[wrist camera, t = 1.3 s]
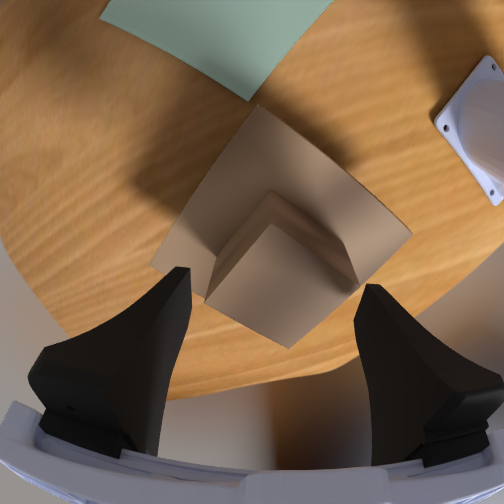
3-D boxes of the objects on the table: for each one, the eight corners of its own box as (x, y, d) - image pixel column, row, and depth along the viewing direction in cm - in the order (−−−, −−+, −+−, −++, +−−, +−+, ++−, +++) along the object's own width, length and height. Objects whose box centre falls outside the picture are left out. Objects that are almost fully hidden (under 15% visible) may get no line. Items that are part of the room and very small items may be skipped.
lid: (407, 226, 17) (442, 273, 13) (291, 336, 22) (294, 393, 18) (257, 103, 14) (253, 111, 10) (153, 256, 19) (124, 307, 15)
